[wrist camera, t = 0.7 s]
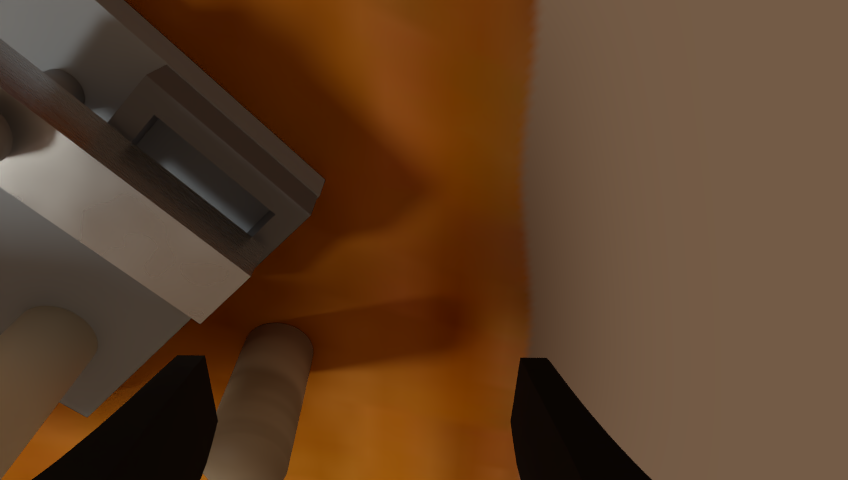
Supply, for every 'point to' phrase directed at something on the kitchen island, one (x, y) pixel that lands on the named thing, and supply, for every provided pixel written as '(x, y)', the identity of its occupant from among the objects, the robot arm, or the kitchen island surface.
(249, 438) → the leg peg
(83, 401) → the board
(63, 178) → the bar
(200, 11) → the kitchen island surface
